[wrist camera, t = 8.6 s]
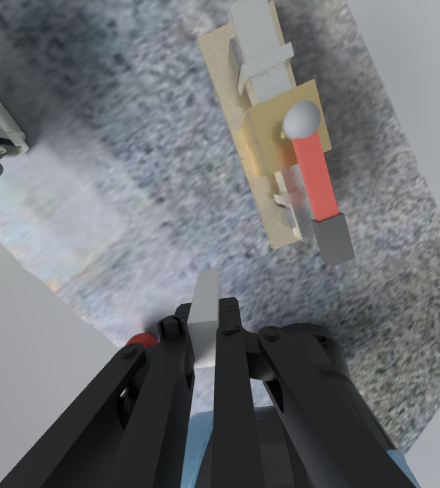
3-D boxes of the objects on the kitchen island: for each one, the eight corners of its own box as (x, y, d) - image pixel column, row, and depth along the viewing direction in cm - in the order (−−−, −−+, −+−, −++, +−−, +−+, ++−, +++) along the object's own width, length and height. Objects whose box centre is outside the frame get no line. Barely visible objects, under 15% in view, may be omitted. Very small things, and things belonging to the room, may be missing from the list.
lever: (277, 115, 21) (282, 108, 19) (307, 101, 20) (316, 94, 19) (321, 261, 25) (328, 267, 23) (347, 251, 24) (357, 257, 23)
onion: (161, 322, 40) (148, 356, 32) (165, 348, 42) (153, 386, 34) (130, 324, 40) (109, 357, 33) (135, 350, 42) (116, 387, 34)
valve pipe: (329, 225, 35) (378, 244, 24) (271, 247, 36) (292, 275, 25) (270, 9, 28) (302, -101, 17) (198, 46, 29) (185, -37, 18)
